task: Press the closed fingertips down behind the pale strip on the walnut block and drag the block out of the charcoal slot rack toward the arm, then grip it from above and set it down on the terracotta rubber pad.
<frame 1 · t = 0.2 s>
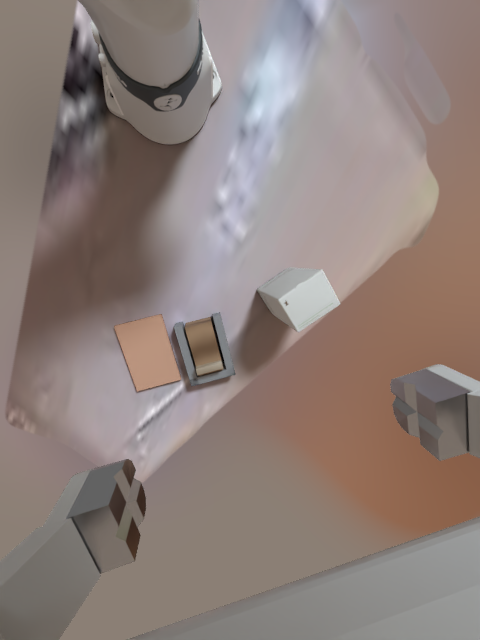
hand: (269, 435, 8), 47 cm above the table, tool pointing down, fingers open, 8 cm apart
walnut block: (204, 347, 55), in the slot rack
slot rack: (204, 343, 57), on the table
skincare box: (280, 289, 57), on the table
rubber pad: (149, 352, 56), on the table
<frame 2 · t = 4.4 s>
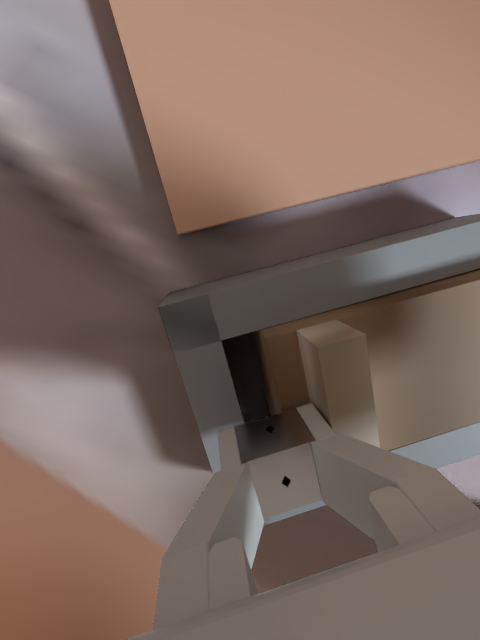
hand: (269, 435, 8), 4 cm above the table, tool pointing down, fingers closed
walnut block: (405, 355, 10), in the slot rack, touching gripper
slot rack: (350, 348, 13), on the table
rubber pad: (334, 58, 10), on the table
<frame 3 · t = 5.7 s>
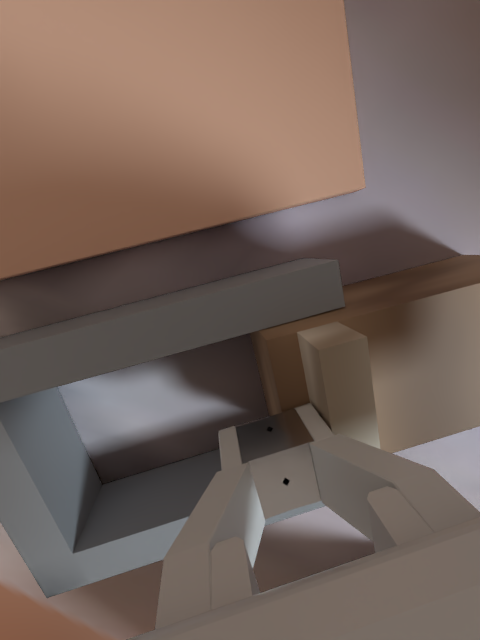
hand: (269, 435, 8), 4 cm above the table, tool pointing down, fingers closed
walnut block: (406, 358, 10), on the table, touching gripper
slot rack: (202, 392, 12), on the table
rubber pad: (142, 99, 9), on the table
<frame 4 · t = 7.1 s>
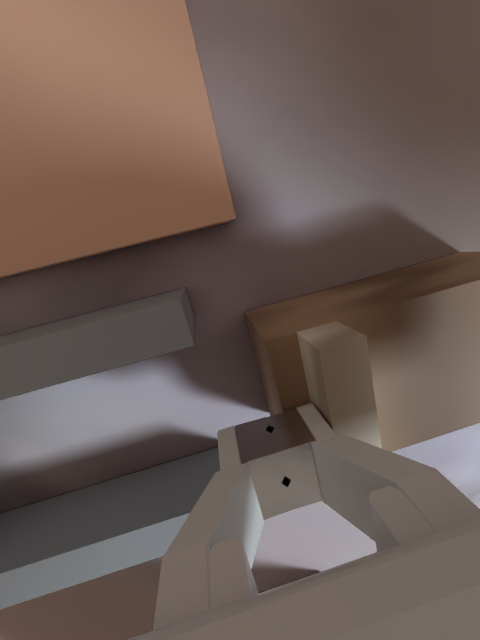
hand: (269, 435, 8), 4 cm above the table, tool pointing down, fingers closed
walnut block: (406, 356, 10), on the table, touching gripper
slot rack: (89, 422, 12), on the table
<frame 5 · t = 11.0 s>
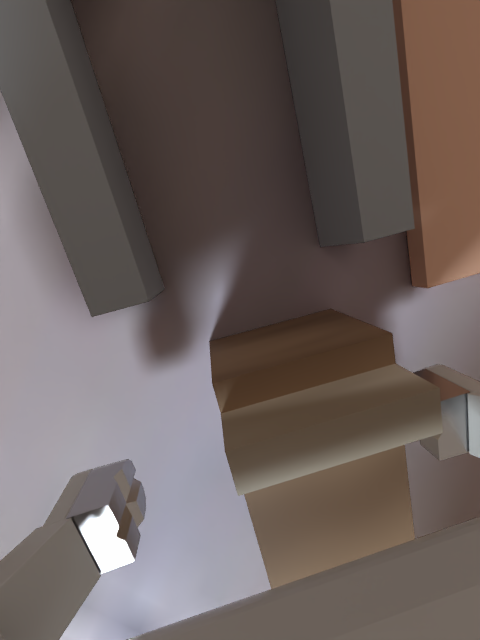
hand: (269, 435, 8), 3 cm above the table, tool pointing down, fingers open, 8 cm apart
walnut block: (317, 475, 10), on the table
slot rack: (201, 100, 9), on the table
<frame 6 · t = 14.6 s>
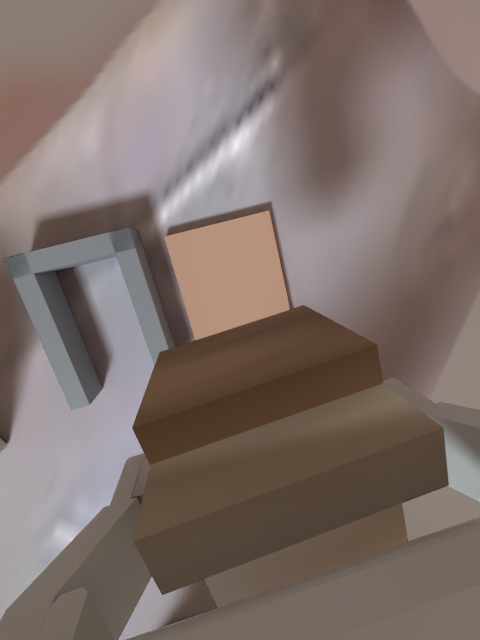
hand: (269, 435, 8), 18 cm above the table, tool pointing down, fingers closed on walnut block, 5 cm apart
walnut block: (294, 513, 8), point 19 cm above the table, touching gripper
slot rack: (114, 324, 25), on the table
rubber pad: (236, 302, 26), on the table
when the fingers open (4 cm above the table, at t = 17.8 s): walnut block drops 1 cm, resting on rubber pad.
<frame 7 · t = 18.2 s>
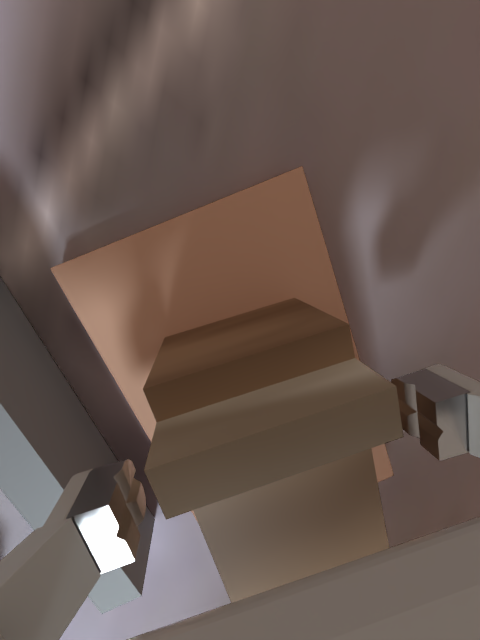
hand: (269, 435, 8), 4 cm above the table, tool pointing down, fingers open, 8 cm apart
walnut block: (282, 481, 9), on the rubber pad, point 4 cm above the table
rubber pad: (249, 381, 12), on the table
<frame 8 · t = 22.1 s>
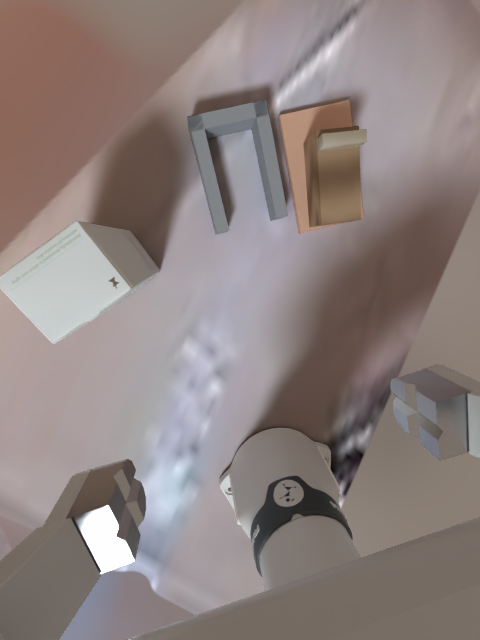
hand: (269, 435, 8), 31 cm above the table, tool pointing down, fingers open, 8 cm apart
walnut block: (334, 179, 34), on the rubber pad, point 4 cm above the table
slot rack: (238, 182, 36), on the table
skincare box: (121, 270, 36), on the table
rubber pad: (321, 170, 37), on the table
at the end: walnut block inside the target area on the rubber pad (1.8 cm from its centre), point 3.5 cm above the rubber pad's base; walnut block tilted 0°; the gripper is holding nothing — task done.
